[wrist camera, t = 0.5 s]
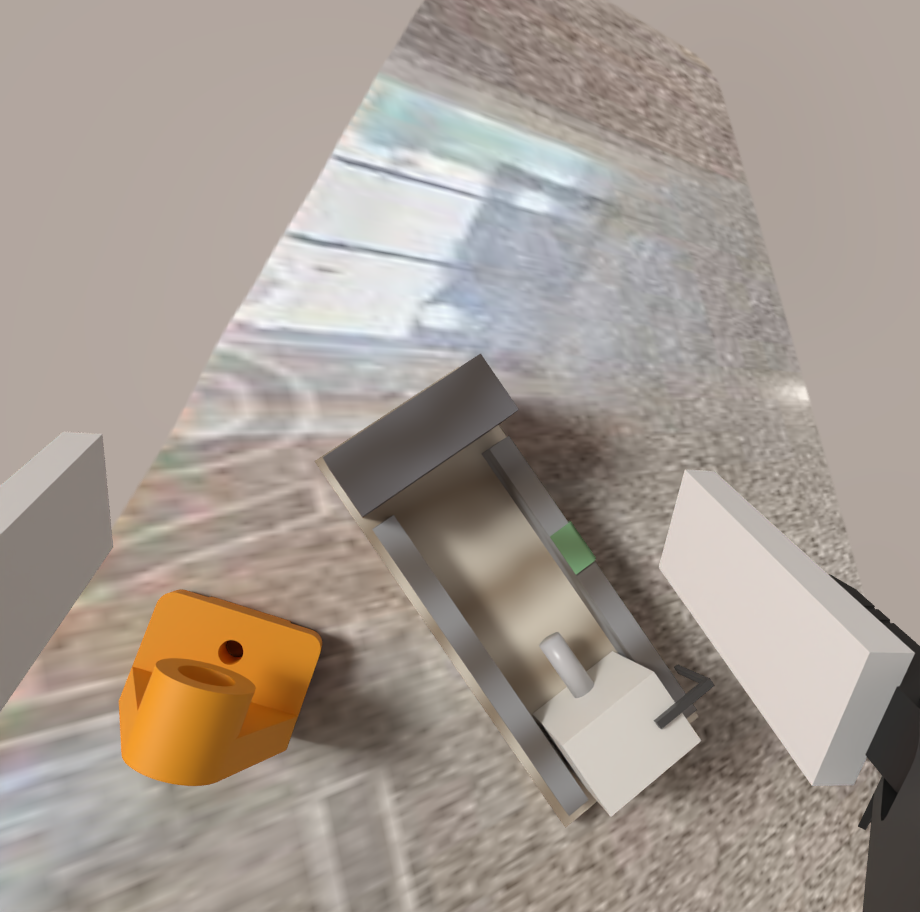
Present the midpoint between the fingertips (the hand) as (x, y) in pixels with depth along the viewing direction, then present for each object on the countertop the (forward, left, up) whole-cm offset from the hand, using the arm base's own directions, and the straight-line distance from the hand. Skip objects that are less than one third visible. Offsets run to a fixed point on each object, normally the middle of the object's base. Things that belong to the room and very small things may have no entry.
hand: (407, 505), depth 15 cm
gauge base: (-9, -5, -33) cm, 34 cm away
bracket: (-2, +13, -33) cm, 36 cm away
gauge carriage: (-17, -6, -31) cm, 36 cm away
